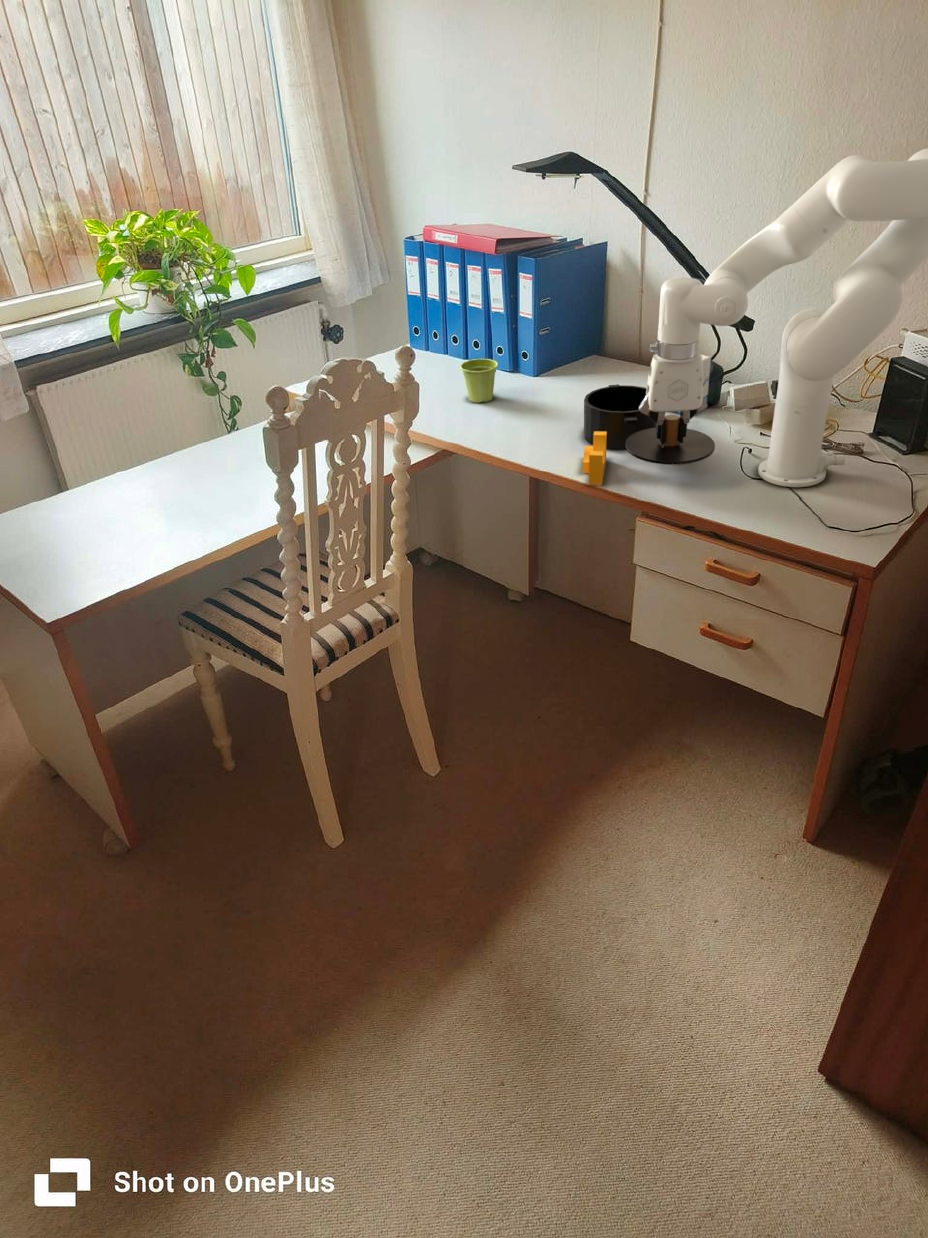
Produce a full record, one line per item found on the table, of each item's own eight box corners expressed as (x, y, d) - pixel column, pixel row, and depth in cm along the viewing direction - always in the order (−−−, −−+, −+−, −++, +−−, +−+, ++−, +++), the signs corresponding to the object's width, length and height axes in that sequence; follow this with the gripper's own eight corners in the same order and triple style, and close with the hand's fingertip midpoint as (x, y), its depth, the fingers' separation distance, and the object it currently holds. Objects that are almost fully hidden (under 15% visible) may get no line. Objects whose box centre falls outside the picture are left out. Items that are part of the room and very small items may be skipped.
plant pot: (506, 394, 221) (505, 360, 216) (487, 407, 214) (485, 372, 210) (475, 390, 225) (473, 356, 220) (455, 402, 219) (452, 368, 214)
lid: (701, 429, 181) (704, 398, 178) (725, 464, 167) (729, 431, 163) (618, 435, 182) (619, 404, 178) (634, 470, 167) (636, 437, 163)
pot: (648, 414, 203) (649, 378, 199) (669, 451, 185) (671, 413, 181) (577, 419, 204) (577, 384, 199) (592, 457, 186) (592, 419, 181)
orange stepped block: (585, 459, 185) (585, 431, 181) (606, 460, 184) (606, 431, 181) (580, 484, 175) (580, 454, 172) (601, 485, 175) (602, 455, 171)
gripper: (637, 358, 160) (632, 451, 170) (726, 351, 160) (716, 445, 170) (629, 345, 166) (625, 436, 176) (715, 339, 166) (706, 431, 176)
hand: (670, 440), depth 173 cm, fingers closed on lid, 3 cm apart
